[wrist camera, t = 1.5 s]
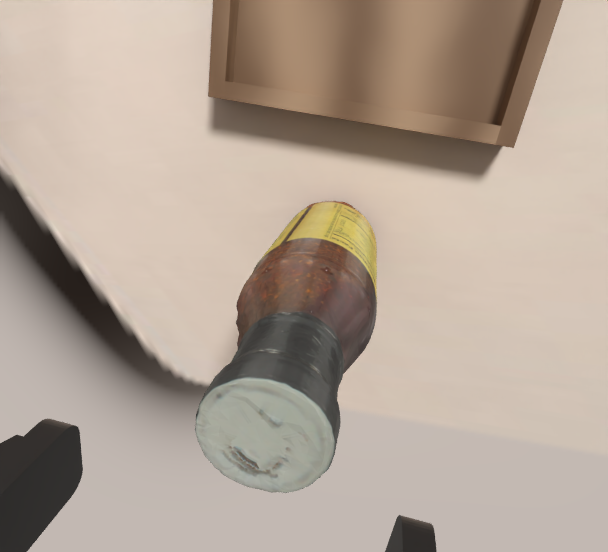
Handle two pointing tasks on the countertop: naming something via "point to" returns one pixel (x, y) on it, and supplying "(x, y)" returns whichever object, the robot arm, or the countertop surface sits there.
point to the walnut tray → (386, 61)
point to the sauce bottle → (293, 352)
